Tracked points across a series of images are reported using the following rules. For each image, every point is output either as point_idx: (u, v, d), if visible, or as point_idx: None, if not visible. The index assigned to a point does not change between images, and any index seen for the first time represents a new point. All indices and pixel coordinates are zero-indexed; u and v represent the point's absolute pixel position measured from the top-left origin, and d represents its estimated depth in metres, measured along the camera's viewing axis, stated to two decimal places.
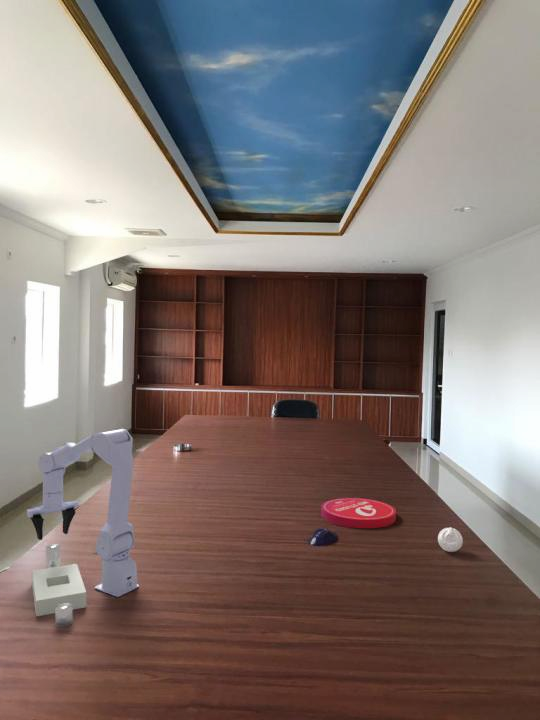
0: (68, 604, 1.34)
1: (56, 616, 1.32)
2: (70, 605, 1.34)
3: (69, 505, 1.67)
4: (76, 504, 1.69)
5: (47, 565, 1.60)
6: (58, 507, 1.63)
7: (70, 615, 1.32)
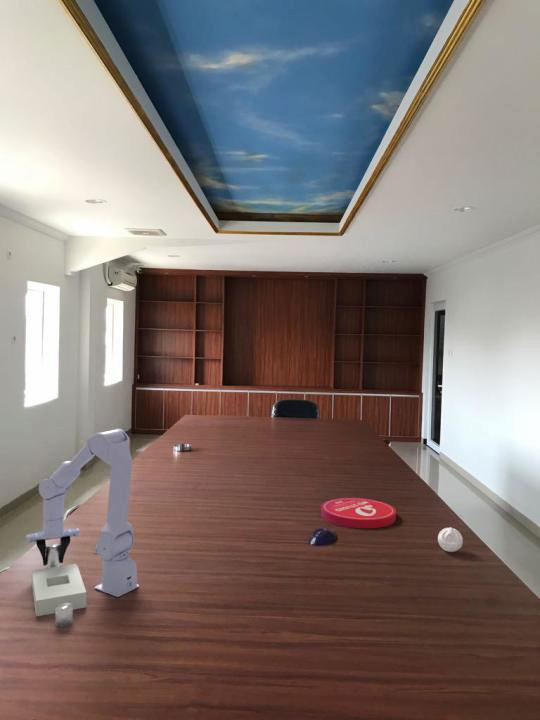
0: (68, 604, 1.34)
1: (56, 616, 1.32)
2: (70, 605, 1.34)
3: (69, 533, 1.62)
4: (78, 532, 1.64)
5: (47, 565, 1.60)
6: (56, 535, 1.59)
7: (70, 615, 1.32)
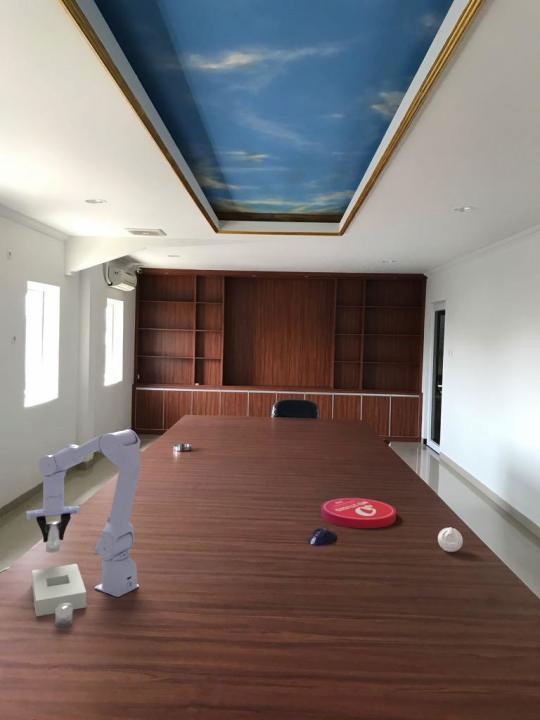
0: (68, 604, 1.34)
1: (56, 616, 1.32)
2: (70, 605, 1.34)
3: (69, 510, 1.62)
4: (78, 509, 1.64)
5: (47, 542, 1.60)
6: (56, 511, 1.59)
7: (70, 615, 1.32)
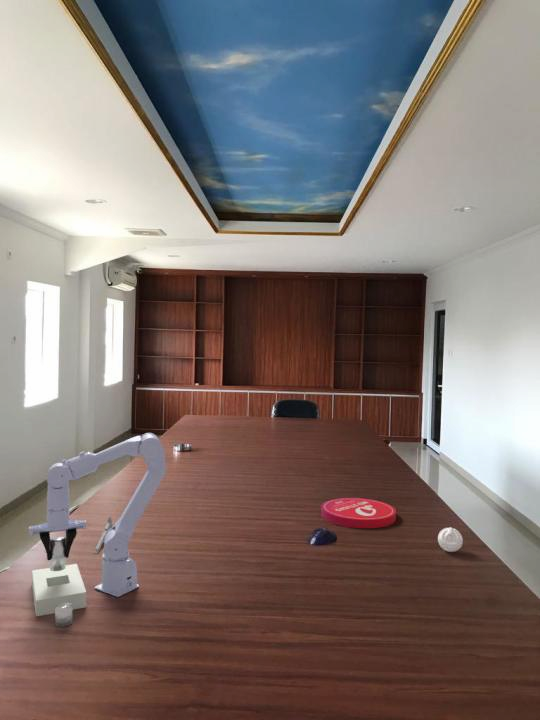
0: (68, 604, 1.34)
1: (55, 616, 1.32)
2: (70, 605, 1.34)
3: (75, 525, 1.49)
4: (85, 524, 1.50)
5: (51, 560, 1.47)
6: (61, 526, 1.46)
7: (69, 615, 1.32)
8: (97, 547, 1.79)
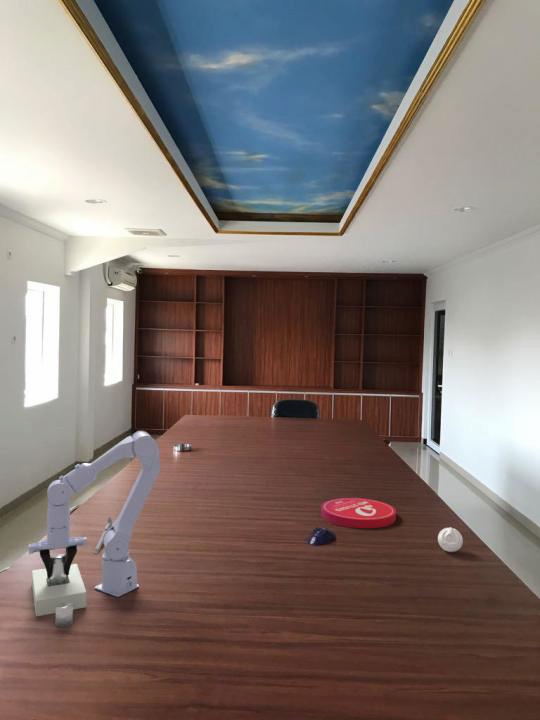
0: (69, 604, 1.34)
1: (55, 615, 1.32)
2: (71, 605, 1.34)
3: (76, 542, 1.48)
4: (85, 541, 1.49)
5: (51, 578, 1.46)
6: (61, 544, 1.45)
7: (69, 616, 1.32)
8: (97, 547, 1.79)
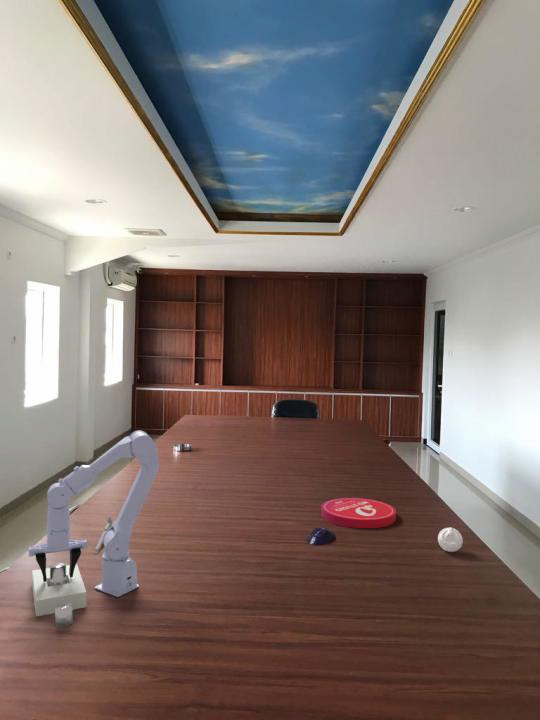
0: (69, 604, 1.34)
1: (55, 616, 1.32)
2: (70, 606, 1.33)
3: (76, 545, 1.48)
4: (85, 544, 1.49)
5: None
6: (61, 547, 1.45)
7: (68, 616, 1.32)
8: (97, 547, 1.79)
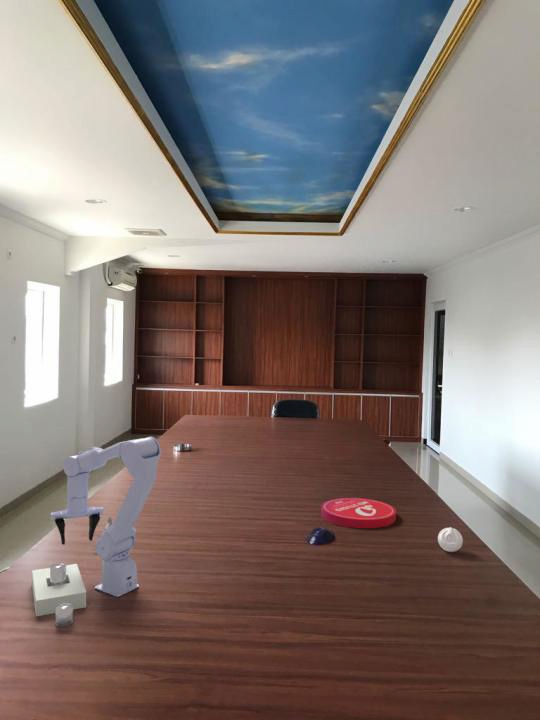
0: (70, 604, 1.34)
1: (55, 615, 1.32)
2: (71, 606, 1.33)
3: (93, 511, 1.61)
4: (102, 510, 1.62)
5: None
6: (80, 512, 1.58)
7: (68, 616, 1.32)
8: None
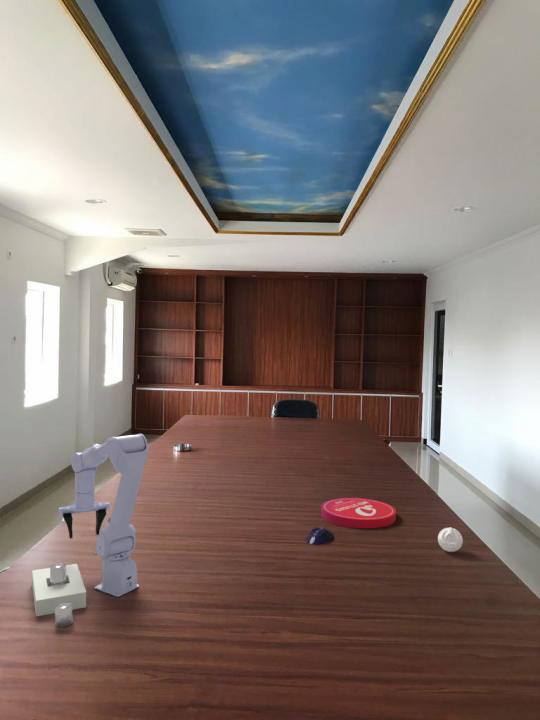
0: (69, 604, 1.34)
1: None
2: (70, 606, 1.33)
3: (100, 506, 1.66)
4: (108, 506, 1.67)
5: None
6: (87, 507, 1.63)
7: (67, 616, 1.32)
8: None
